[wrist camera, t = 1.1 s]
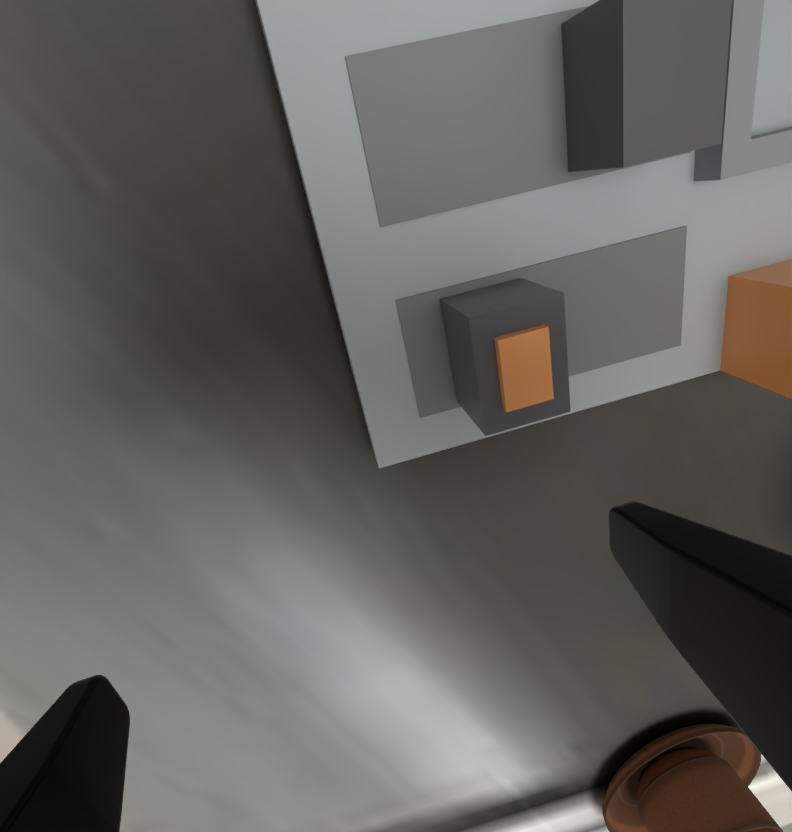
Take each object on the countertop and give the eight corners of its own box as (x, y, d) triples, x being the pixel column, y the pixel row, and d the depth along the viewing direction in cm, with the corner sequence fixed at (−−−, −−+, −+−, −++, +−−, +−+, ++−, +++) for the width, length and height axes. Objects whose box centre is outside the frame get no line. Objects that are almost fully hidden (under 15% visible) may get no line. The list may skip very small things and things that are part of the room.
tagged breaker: (521, 278, 17) (569, 294, 14) (530, 381, 19) (575, 415, 16) (439, 298, 17) (471, 320, 14) (457, 401, 19) (488, 440, 16)
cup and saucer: (727, 783, 40) (799, 878, 34) (589, 831, 38) (640, 938, 33) (750, 685, 34) (838, 778, 29) (591, 736, 33) (652, 845, 28)
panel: (865, -146, 16) (1070, -266, 12) (792, 332, 23) (904, 362, 19) (247, -30, 14) (229, -125, 10) (373, 450, 21) (394, 513, 17)
